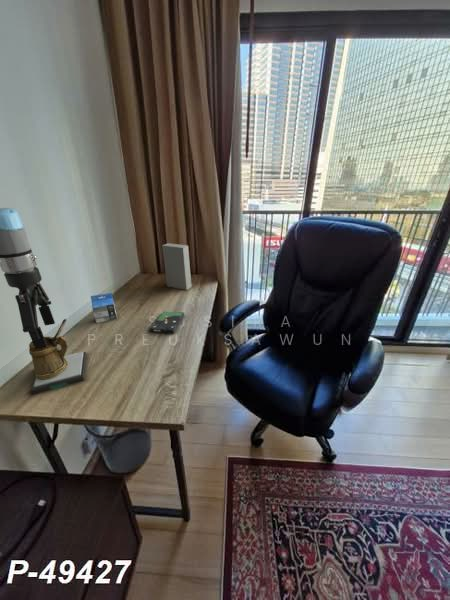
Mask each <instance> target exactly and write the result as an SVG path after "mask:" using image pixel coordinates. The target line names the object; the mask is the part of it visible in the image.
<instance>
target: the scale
mask: <svg viewBox="0 0 450 600" xmlns="http://www.w3.org/2000/svg"><path fill="white" fill-rule="evenodd" d="M87 356H88V355H87V352H86V351H79V352H74V353H71V354H65V356H64V358H65V359H66V360H67V362H68V366H67V368H66V369H65V370H64V371H63V372H62V373H61V374H59V375H58V376H56V377H53V378H50V379H46V380H39V379H37V378H36V376H35V377H34V380H33V383H32V386H31V389H30V393H31V394H32V395H36V394H40V393H43V392H47V391H51V390H56V389H59V388H61V387H66V386H69V385H73V384H76V383H80V382H84V381H85V377H86V365H87Z"/></svg>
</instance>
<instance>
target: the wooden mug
mask: <svg viewBox="0 0 450 600" xmlns="http://www.w3.org/2000/svg"><path fill="white" fill-rule="evenodd" d="M66 323H67V318H63V320H62V322H61V324H60V326H59V328H58V329H57V331H56V333H55V335H54V336H44V338H45V341H46V343H47V347H45V348H40V349H35V346H34V344H33V342H32V341H30V342H29V344H28V347H29V348H28V350H29V351H28V353H29V355H30V356H31V360H32V365H33V368H34V371H33V372H34V376H35V377H36V378H37V379H39V380H46V379H50V378H53V377H56V376H58V375H59V374H61V373H62V372H63V371H64V370H65V369H66V368H67V366H68V362H67V360H66V359H65V358H64V356H65V355H66V353H67V351H68V342H67V341H66V339H65V338H64V337H63V336H61V334H62V331H63V329H64V327H65V325H66ZM58 345H59V346H60V347H61V348H60V349H59V348H58Z"/></svg>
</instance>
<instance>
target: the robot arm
mask: <svg viewBox="0 0 450 600" xmlns="http://www.w3.org/2000/svg"><path fill="white" fill-rule="evenodd" d="M37 259H38V258H37V255H34V253H33V249H32V248H31V244H30V242H29V239H28V236H27V232H26V229H25V225H24V224H23V221H22V219H21V217H20V214H19V212H18V211H17V210H15V209H14V208H12V207H0V269H1V272H4V274H3V276H4V278H5V281H6V283H7V285H8V287H10V288H16V289H18V294H16V295H15V300H16V304H17V306H18V307H17V308H18V311H19V316H20V320H21V325H22V332H23V333H28V335H29V337H30V339H31V342H33V344H34V346H35V349H40V348H45V347H47V343H46V341H45V338H44V337H45V335H44V333H43V331H42V328H41V326H39V322H38V314H37V312H38V311H39V313H40V316H41V319H42V321H43V324H44V326H50V325H55V324H56V321H55V318H54V316H53V314H52V310H51V307H50V305H52V301H51V300H50V297H49V296H48V294H47V293H46V291H45V289H44V287H43V285H42V284H41V283H40V282H41V281H42V280H43V278H42V275H41V272H40V269H39V267H37V261H36V260H37ZM37 306H38V311H37Z"/></svg>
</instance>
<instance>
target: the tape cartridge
mask: <svg viewBox="0 0 450 600" xmlns="http://www.w3.org/2000/svg"><path fill="white" fill-rule="evenodd" d="M112 293H113V292H109V293H103V294H95V295H90V299H91V308H92V313H93V316H94V319H95V323H97V324H99V323H103V322H109V321H114V320H117V319H118V314H117V311H116V306H115V301H114V298H113V294H112Z"/></svg>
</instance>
